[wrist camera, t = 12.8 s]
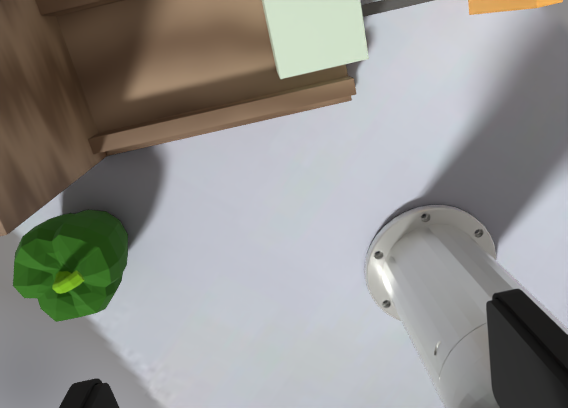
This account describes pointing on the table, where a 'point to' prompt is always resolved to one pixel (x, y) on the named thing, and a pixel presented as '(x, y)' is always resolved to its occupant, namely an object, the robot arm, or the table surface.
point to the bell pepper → (72, 263)
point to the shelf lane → (131, 85)
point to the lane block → (341, 29)
